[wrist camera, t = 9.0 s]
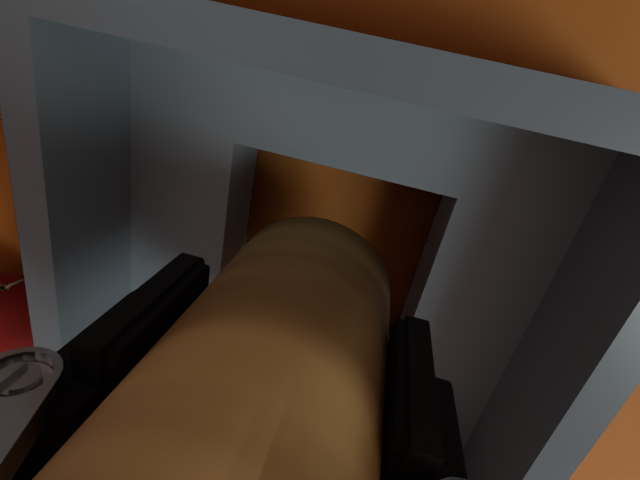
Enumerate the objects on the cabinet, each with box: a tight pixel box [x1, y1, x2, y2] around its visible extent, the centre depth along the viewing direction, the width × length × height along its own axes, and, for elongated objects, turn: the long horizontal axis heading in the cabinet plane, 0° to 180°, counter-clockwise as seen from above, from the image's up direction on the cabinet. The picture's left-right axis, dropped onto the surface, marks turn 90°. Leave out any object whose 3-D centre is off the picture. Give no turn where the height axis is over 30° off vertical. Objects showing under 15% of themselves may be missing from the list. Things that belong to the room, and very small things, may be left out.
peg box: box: [0, 0, 640, 480], centre depth 13 cm, size 14×16×6 cm
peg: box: [32, 217, 391, 480], centre depth 8 cm, size 5×5×11 cm
